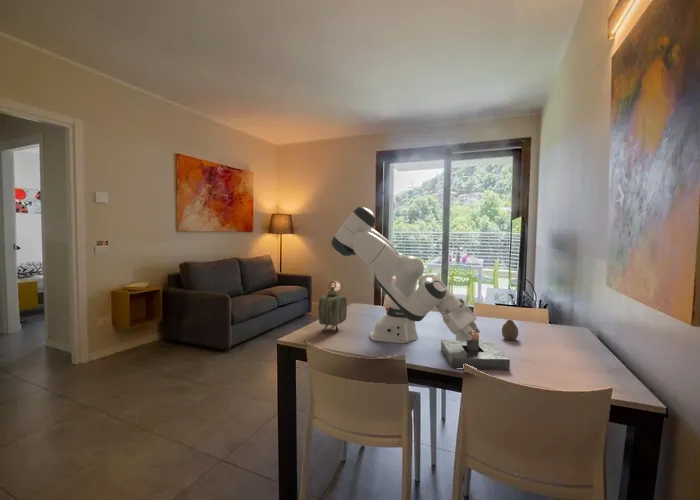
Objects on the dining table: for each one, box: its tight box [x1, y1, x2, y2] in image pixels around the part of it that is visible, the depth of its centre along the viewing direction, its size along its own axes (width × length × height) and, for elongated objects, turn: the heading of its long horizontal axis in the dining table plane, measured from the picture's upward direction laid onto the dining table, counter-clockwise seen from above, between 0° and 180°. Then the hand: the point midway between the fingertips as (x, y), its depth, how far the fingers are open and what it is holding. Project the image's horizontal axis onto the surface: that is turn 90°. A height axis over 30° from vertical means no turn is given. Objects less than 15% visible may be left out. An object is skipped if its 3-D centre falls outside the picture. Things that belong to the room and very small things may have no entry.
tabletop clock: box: [317, 280, 348, 333], centre depth 162 cm, size 14×9×25 cm, turn 155°
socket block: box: [440, 339, 511, 372], centre depth 125 cm, size 20×20×4 cm
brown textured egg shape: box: [501, 319, 519, 342], centre depth 148 cm, size 7×7×9 cm
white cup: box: [455, 325, 474, 340], centre depth 145 cm, size 8×8×10 cm
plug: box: [467, 330, 480, 352], centre depth 125 cm, size 4×4×11 cm
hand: (474, 336), depth 125 cm, fingers open, 8 cm apart
